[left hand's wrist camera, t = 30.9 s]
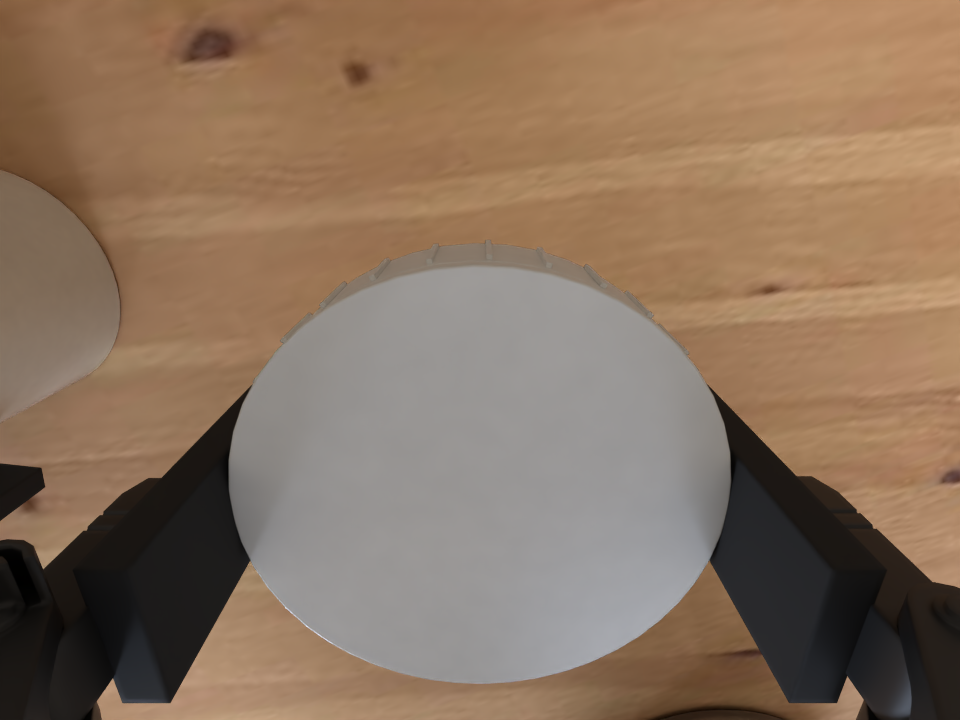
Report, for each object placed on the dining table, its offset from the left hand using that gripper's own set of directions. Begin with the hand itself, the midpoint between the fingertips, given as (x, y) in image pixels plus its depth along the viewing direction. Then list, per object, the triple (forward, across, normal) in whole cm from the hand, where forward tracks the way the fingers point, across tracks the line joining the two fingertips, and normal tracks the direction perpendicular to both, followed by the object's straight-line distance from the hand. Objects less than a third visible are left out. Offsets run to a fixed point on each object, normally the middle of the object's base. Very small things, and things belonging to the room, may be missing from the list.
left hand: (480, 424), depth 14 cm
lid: (-3, 0, 0) cm, 3 cm away
